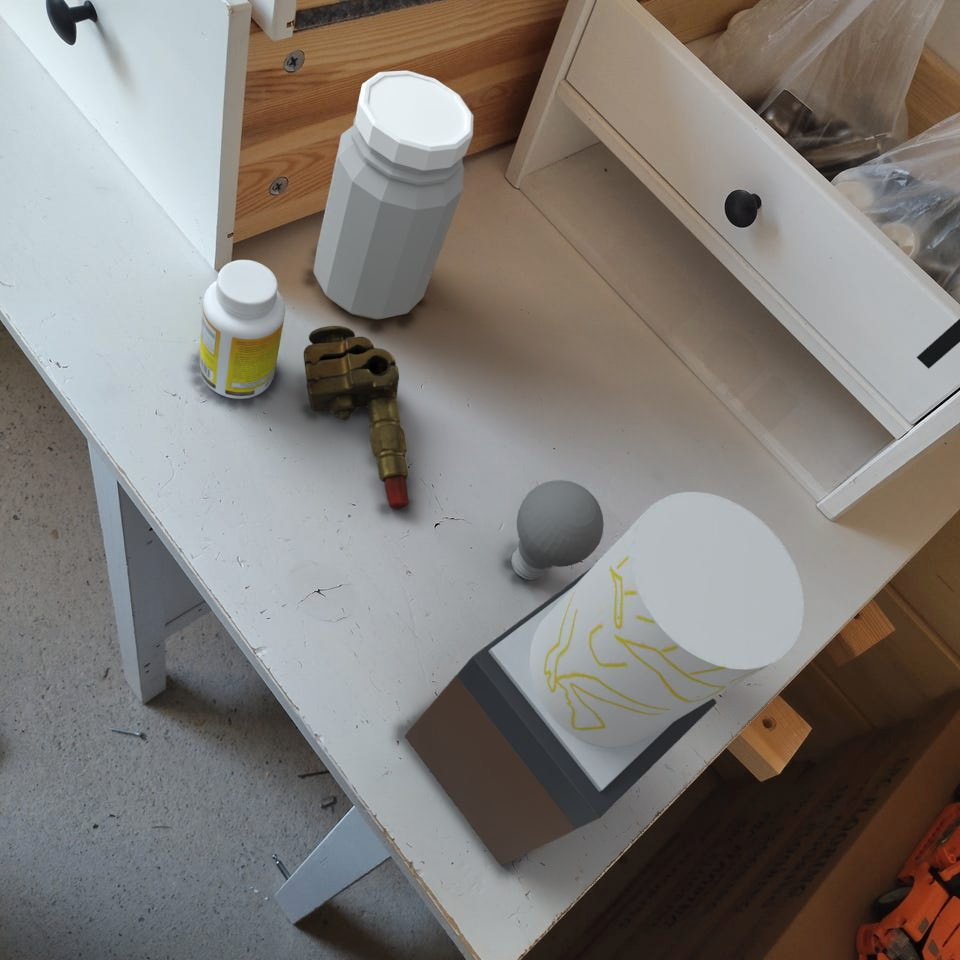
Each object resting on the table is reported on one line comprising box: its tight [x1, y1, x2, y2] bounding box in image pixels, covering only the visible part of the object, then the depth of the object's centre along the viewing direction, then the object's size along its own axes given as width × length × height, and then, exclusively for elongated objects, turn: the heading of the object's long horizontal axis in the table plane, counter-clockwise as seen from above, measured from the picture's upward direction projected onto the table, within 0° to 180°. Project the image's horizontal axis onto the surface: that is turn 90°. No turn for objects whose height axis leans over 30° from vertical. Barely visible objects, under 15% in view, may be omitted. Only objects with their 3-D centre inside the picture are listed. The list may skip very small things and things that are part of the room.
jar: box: [312, 70, 474, 321], centre depth 70 cm, size 10×10×18 cm
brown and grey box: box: [404, 566, 717, 866], centre depth 53 cm, size 10×10×15 cm
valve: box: [303, 325, 410, 510], centre depth 68 cm, size 7×15×5 cm, turn 21°
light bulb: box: [511, 479, 605, 580], centre depth 63 cm, size 6×6×10 cm
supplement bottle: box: [198, 259, 286, 400], centre depth 64 cm, size 6×6×10 cm
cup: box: [530, 491, 805, 748], centre depth 42 cm, size 8×8×12 cm
